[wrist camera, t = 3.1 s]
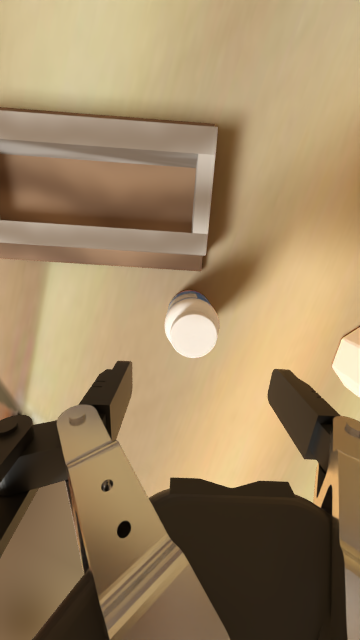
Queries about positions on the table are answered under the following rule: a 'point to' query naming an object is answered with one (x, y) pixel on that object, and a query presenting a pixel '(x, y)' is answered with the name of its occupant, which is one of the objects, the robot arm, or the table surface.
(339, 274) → the table surface
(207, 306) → the pill bottle
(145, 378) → the table surface
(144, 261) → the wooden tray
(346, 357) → the cup
